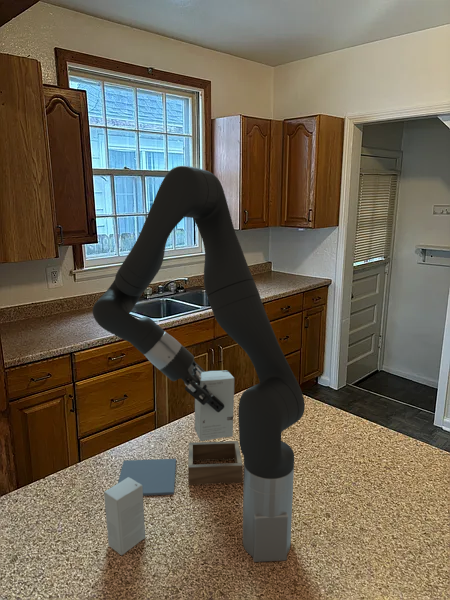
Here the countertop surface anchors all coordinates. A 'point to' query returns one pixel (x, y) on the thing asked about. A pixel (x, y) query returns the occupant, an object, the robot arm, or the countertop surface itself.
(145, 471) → the slate mat
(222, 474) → the holder collar
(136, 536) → the skincare box
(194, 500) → the countertop surface
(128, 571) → the countertop surface
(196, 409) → the skincare box
